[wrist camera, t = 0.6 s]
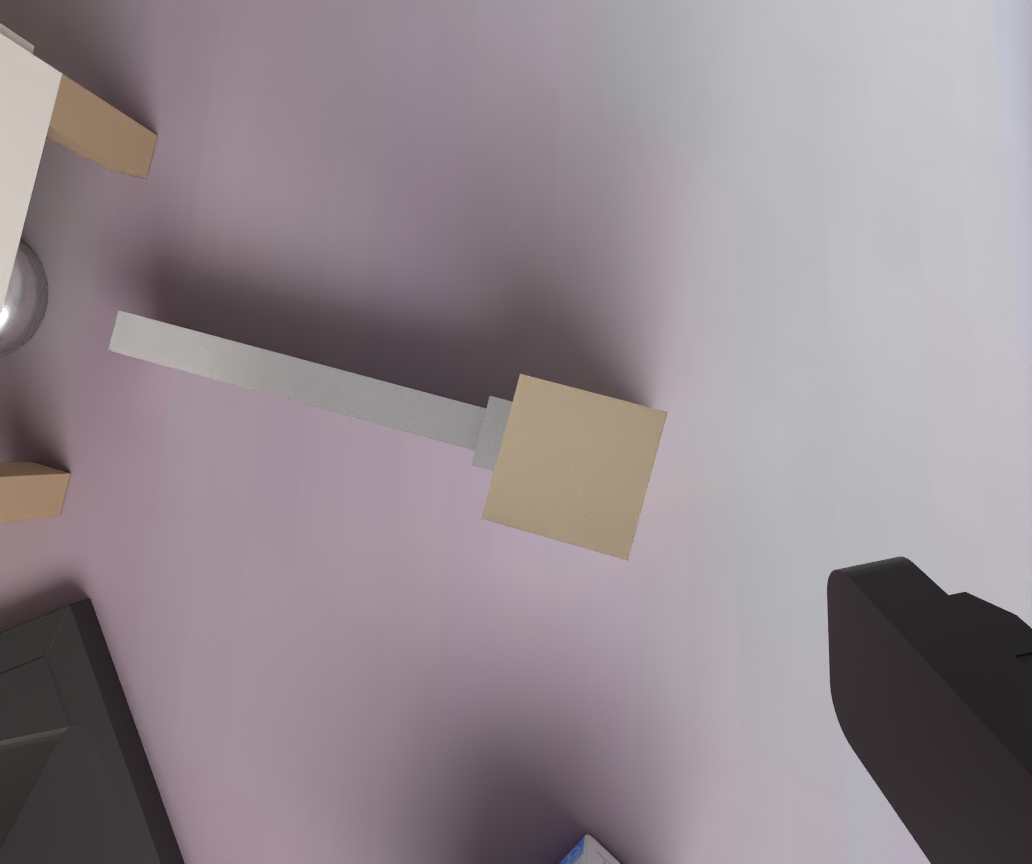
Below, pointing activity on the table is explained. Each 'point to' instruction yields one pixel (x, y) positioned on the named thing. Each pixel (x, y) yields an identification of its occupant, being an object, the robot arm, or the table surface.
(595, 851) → the medicine box
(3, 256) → the cabinet
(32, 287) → the round shiny metal container
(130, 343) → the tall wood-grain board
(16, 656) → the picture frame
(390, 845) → the table surface
